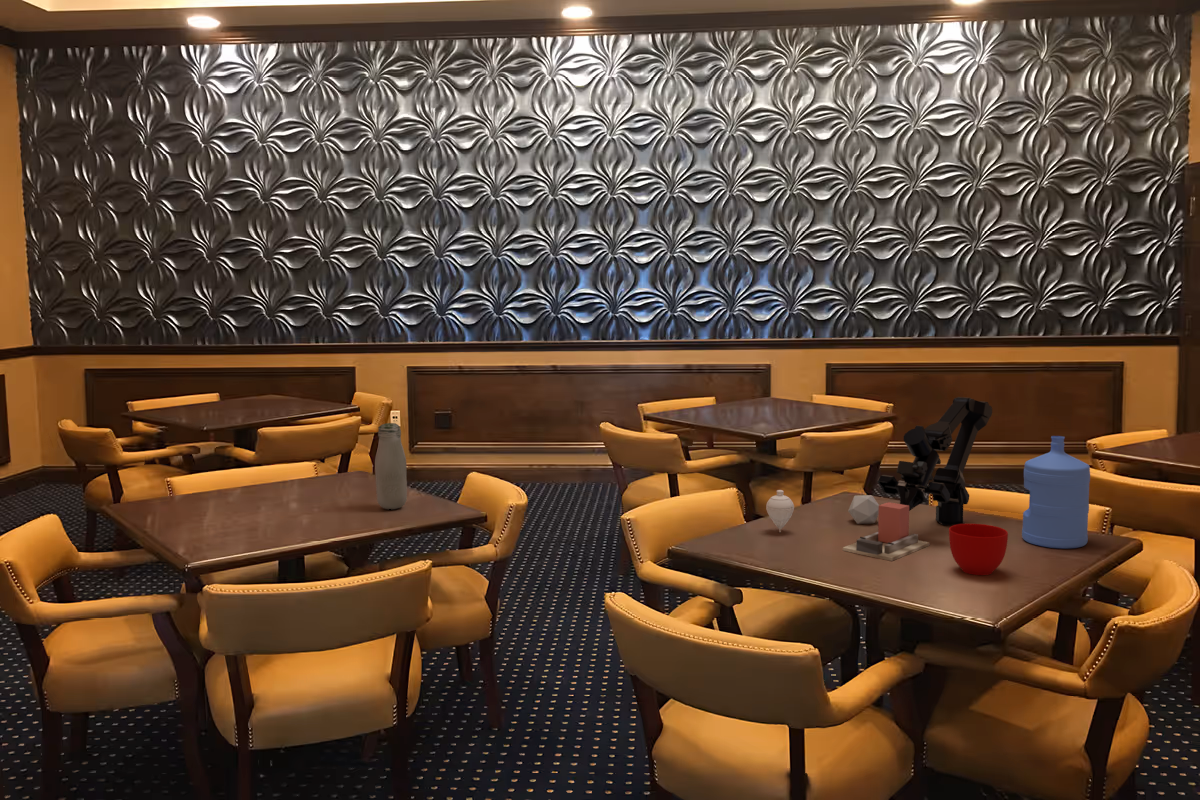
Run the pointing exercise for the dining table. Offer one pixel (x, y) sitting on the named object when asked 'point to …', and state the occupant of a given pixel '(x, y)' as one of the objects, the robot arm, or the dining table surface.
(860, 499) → the die
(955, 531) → the ceramic cup
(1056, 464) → the water jug
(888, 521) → the pink upright block
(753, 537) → the dining table surface
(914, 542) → the press stand
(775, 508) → the spinning top
